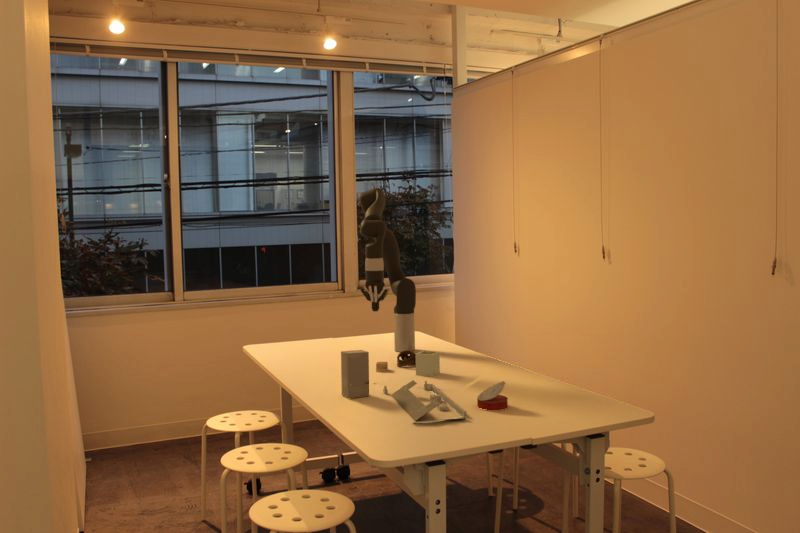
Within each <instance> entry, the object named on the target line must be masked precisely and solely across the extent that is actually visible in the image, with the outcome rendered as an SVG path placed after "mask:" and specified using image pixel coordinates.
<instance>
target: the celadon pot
mask: <svg viewBox="0 0 800 533" xmlns="http://www.w3.org/2000/svg"><path fill="white" fill-rule="evenodd" d="M440 354H441V352H440V351H433V350H432V351H431V350H422V351H419V352H417V353H416V352H415V356H416V364H415V376H423V377H424V376H425V377H434V376H436V375H439V374H440V373H441V366H440V364H441V362H440V358H441V357H440V356H441V355H440Z"/></svg>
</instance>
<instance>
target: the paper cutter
mask: <svg viewBox="0 0 800 533" xmlns="http://www.w3.org/2000/svg"><path fill="white" fill-rule="evenodd" d="M417 384H418V383H417V381H415V380H414V379H413V380H411V381H409V382H408V383H405V385H403V386H402V387H400V388H399V389H398V390H396V391H394V392H393V393H391V394H390V395H391V396H392V398H394V399H395V401H396V402H398V404H399V403H400V404H399V405H400V406H401V407H402V408H403V409H404V410H405V411H406V412H407V413H408V414H409V416H410V417H412V418H413V420H415V422H413V424H416V423H417V424H418V423H420V424H429V423H438V422H442V421H443V422H444V421H445V419H438V420H426V421H425V420H424V421H418V420H420V418H422V417H424V416H425V415H427V414H428V413H430V412H431V411H433V410H434V409H435V408H438V409H437V410H438V411H439V412H444V411H443V410H449V407H451V409H453V408H454V409H455V410H456V411H455V410H454V409H453V410H454V411H455V412H456V413H457V414H459V413H460V414H461V415H462V416H463V417H460V418H459V417H458V420H463V419H468V418H469V417H468V416H467V410H465V409H464V408H463V407H461V406H460V405H459V404H458V403H457V402H455V401H454V400H453V399H451V397H450V396H448V395H446V394H445V393H444V392H443V391H442V390H441V389H439V388H438V387H437V386H435V384H433V383H428V381H427V380H424V384H423V390H424V391H427V392H429V391H433V392H434V393H436V394H437V395H435V394H434V395H433V394H430V395H429V403H428V404H426V405H425V404H424V402H422V401H421V400H420V399H419V398H418V397H417V396H416V395H415V393H412V391H411V390H410V389H412V388H413V387H414V386H416V385H417ZM385 394H386V395H388V394H389V390H388V389H387V385H384V387H383V395H385ZM441 398H442V399H443V400H444V401H443V400H442V399H441ZM430 401H431V402H430ZM440 401H441V402H442V401H443V402H445V403H441V402H440ZM446 402H447V403H448V404H449V405H450V406H449V405H448V404H447V403H446ZM460 414H459V415H460ZM461 415H460V416H461ZM453 419H454V418H449V419H446V421H454V420H453Z"/></svg>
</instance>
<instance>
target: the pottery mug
mask: <svg viewBox="0 0 800 533" xmlns="http://www.w3.org/2000/svg"><path fill="white" fill-rule="evenodd" d="M415 354H416V352H414V351H412V350H405V351H402V352H398V354H397V356H396V359H397V360H396V362H397V364H396V367H398V368H401V367H407V366H411V365H412V364H413V365H416V356H415ZM400 358H401V359H400Z"/></svg>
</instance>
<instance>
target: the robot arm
mask: <svg viewBox="0 0 800 533" xmlns="http://www.w3.org/2000/svg"><path fill="white" fill-rule="evenodd" d="M358 201H359V204H360V206H361V209H362V212H363V214H364V219H363V220H362V221H361V224H360V227H359V231H360V235H361V236H362V237H364V238H368V239H369V238H370V239H371V238H373V239H374V242H371V243H367V244H366V245H365V248H364V249H365V263H364V264H365V265H364V267H365V268H364V270H365V272H364V273H365V275H364V276H365V284H364V286H363V287H362V288H360V292H361V293H362V294H363V296H364V297H365V299H366V300H367V301H369V302H371V310H372V312H378V311H379V310H380V302H381V301H384V300H385V298H386V297H387V295H388V294H389V292H390V290H391V292H392V293H393V294H394V295H395V296H396V299H395V300H396V303H395V306H394V307H393V326H394V327H393V330H394V331H393V332H394V336H393V337H394V338H393V339H394V340H393V341H394V351H395V352H398V353H400V352H402V351H405V350H412V351H413V352H414V351H415V350H416V343H415V342H416V335H415V332H416V331H415V308H416V302H417V300H416V297H417V291H416V290H417V288H416V283H415V282H414V281H413V280H412V279H411V278H407V277H406V275H405V273H404V270H403V268H402V264H401V256H400V255H401V254H400V247H399V244H398V240H397V239H396V236H395V234H394V232H393V231H391V230H390V229H389V228H388V227H387V224H386V222H385V221H384V220H383V218H382V216H383V212H384V210H385V207H386V197H385V194H384V192H383V190H382V189H381V188H380V187H374V188H372V189H368V190H366V191H363V192H360V193H359V194H358ZM384 270H385V271H386V273H387V277H388V282H389V287H390V288H387V287H386V284H385V282H384V281H385V272H384Z"/></svg>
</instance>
